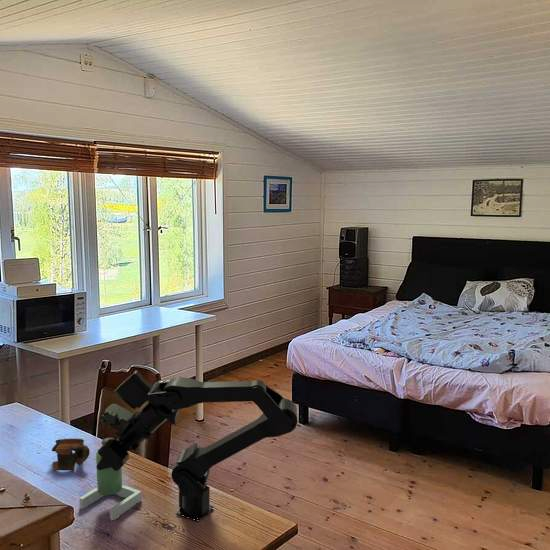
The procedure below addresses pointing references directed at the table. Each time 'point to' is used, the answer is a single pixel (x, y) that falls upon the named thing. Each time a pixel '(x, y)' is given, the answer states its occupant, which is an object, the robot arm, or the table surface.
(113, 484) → the bottle
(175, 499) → the table surface
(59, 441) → the pottery mug
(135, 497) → the u rest
